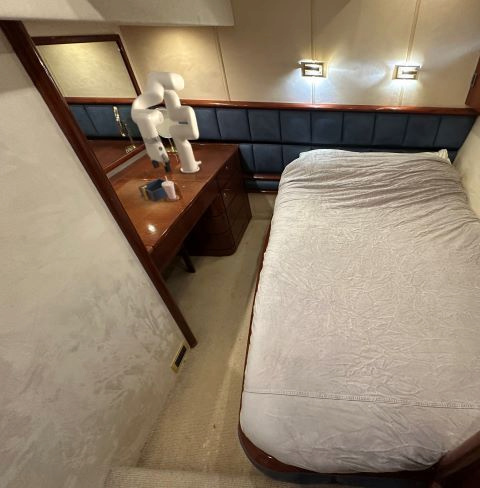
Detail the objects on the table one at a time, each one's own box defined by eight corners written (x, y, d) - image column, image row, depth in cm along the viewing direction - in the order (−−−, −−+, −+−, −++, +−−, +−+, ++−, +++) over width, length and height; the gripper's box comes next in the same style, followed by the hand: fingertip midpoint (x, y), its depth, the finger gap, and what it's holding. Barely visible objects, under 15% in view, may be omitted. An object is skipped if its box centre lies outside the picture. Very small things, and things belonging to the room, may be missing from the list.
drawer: (162, 186, 172) (158, 174, 166) (176, 191, 168) (172, 179, 162) (139, 197, 160) (134, 184, 155) (153, 202, 156) (148, 190, 151)
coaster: (173, 194, 165) (173, 193, 165) (182, 197, 163) (182, 196, 162) (163, 199, 160) (162, 198, 159) (171, 202, 157) (171, 202, 157)
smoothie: (180, 195, 164) (172, 174, 155) (175, 200, 159) (168, 179, 150) (169, 194, 163) (161, 173, 154) (164, 200, 158) (156, 178, 149)
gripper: (169, 140, 138) (179, 171, 150) (147, 134, 144) (158, 163, 155) (156, 145, 133) (167, 176, 145) (134, 137, 139) (146, 168, 150)
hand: (162, 169), depth 150 cm, fingers open, 9 cm apart
